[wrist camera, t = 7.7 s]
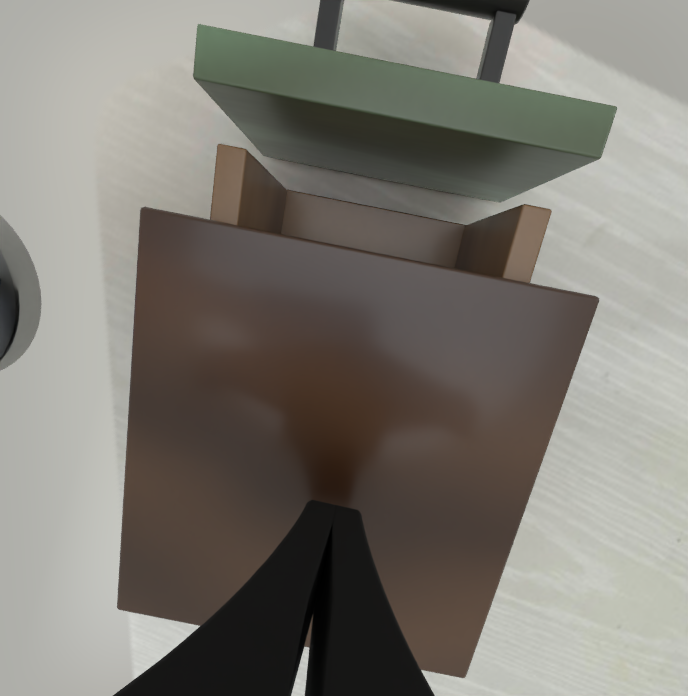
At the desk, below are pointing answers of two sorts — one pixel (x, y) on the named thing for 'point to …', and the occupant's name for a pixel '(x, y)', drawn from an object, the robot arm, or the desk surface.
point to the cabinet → (334, 419)
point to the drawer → (394, 140)
